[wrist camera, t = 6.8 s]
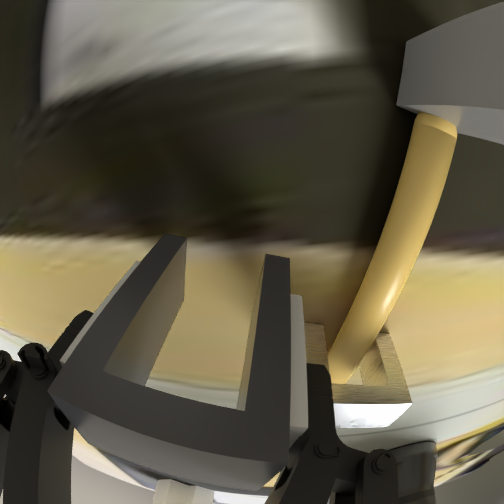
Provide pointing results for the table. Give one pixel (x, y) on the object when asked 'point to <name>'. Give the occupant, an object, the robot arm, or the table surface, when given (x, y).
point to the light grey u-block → (364, 383)
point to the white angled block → (181, 493)
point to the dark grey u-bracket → (174, 407)
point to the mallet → (427, 159)
